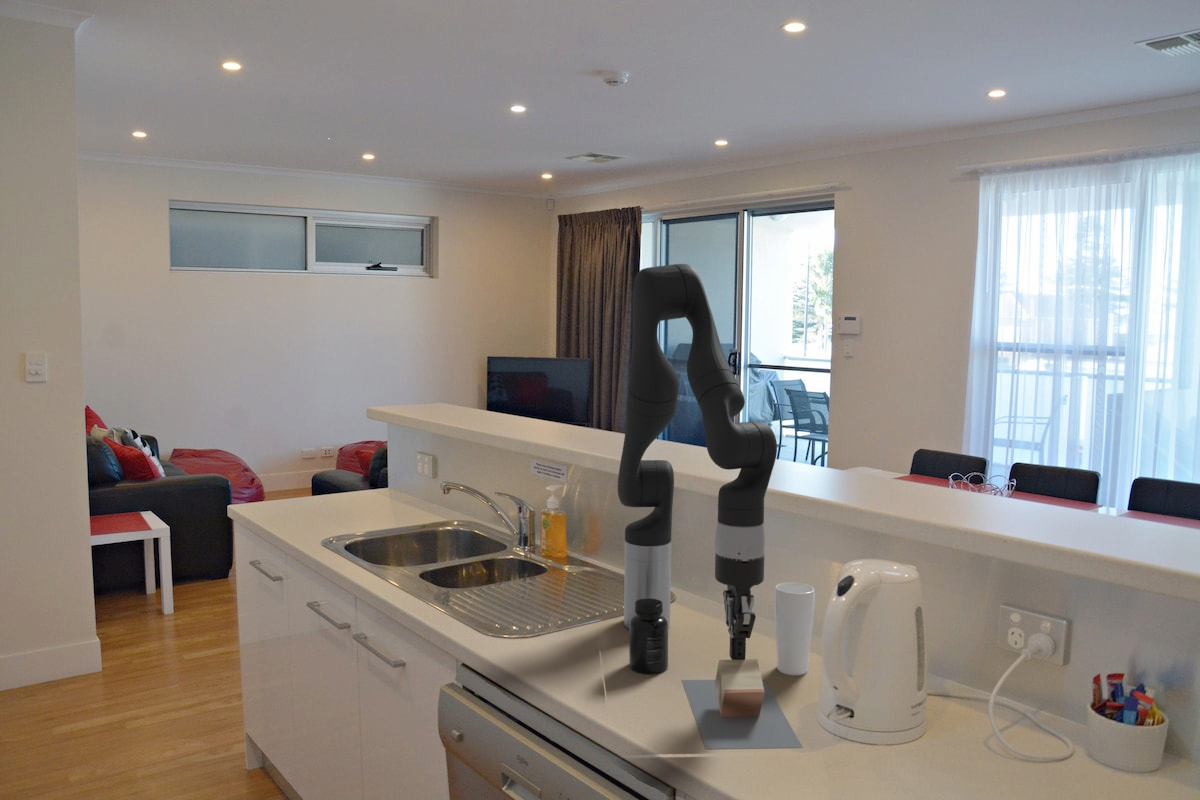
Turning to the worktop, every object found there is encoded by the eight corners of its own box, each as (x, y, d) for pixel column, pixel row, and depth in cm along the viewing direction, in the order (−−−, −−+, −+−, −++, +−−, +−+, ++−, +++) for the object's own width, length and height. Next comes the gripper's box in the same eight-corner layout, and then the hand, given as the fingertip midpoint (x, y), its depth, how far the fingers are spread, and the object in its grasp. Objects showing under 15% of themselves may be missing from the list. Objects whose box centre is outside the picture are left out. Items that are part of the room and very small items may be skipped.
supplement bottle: (671, 663, 158) (672, 598, 157) (663, 678, 152) (664, 610, 150) (633, 659, 160) (634, 594, 159) (624, 674, 153) (625, 606, 152)
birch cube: (719, 659, 138) (725, 692, 133) (757, 659, 138) (764, 692, 133) (714, 684, 141) (720, 717, 136) (752, 683, 142) (759, 716, 137)
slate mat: (681, 682, 150) (681, 680, 150) (763, 681, 151) (763, 679, 151) (705, 751, 126) (705, 749, 126) (802, 750, 127) (803, 747, 127)
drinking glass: (765, 666, 157) (767, 584, 156) (798, 661, 159) (800, 580, 158) (786, 681, 151) (788, 595, 149) (820, 676, 153) (822, 591, 152)
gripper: (708, 540, 144) (706, 644, 145) (723, 562, 130) (721, 676, 132) (754, 539, 144) (751, 643, 146) (774, 562, 131) (771, 676, 132)
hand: (737, 659), depth 139 cm, fingers closed
